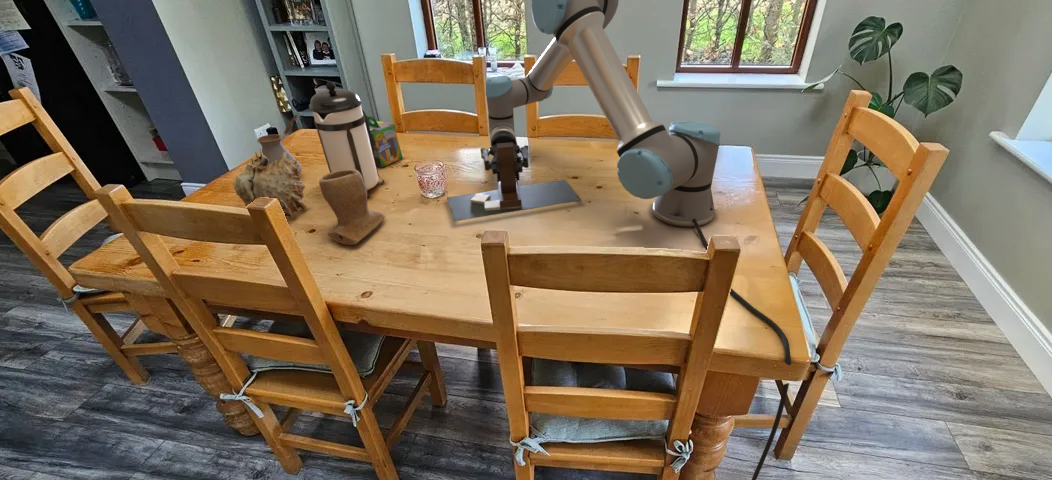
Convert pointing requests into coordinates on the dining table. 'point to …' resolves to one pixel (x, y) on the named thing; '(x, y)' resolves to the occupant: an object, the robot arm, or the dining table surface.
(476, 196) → the chalk patch
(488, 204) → the chalk patch
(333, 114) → the coffee press
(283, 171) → the seashell
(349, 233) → the clay platform pipe
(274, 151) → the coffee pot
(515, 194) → the brown upright slab stand
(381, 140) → the chalk box
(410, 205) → the dining table surface
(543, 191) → the slate board
